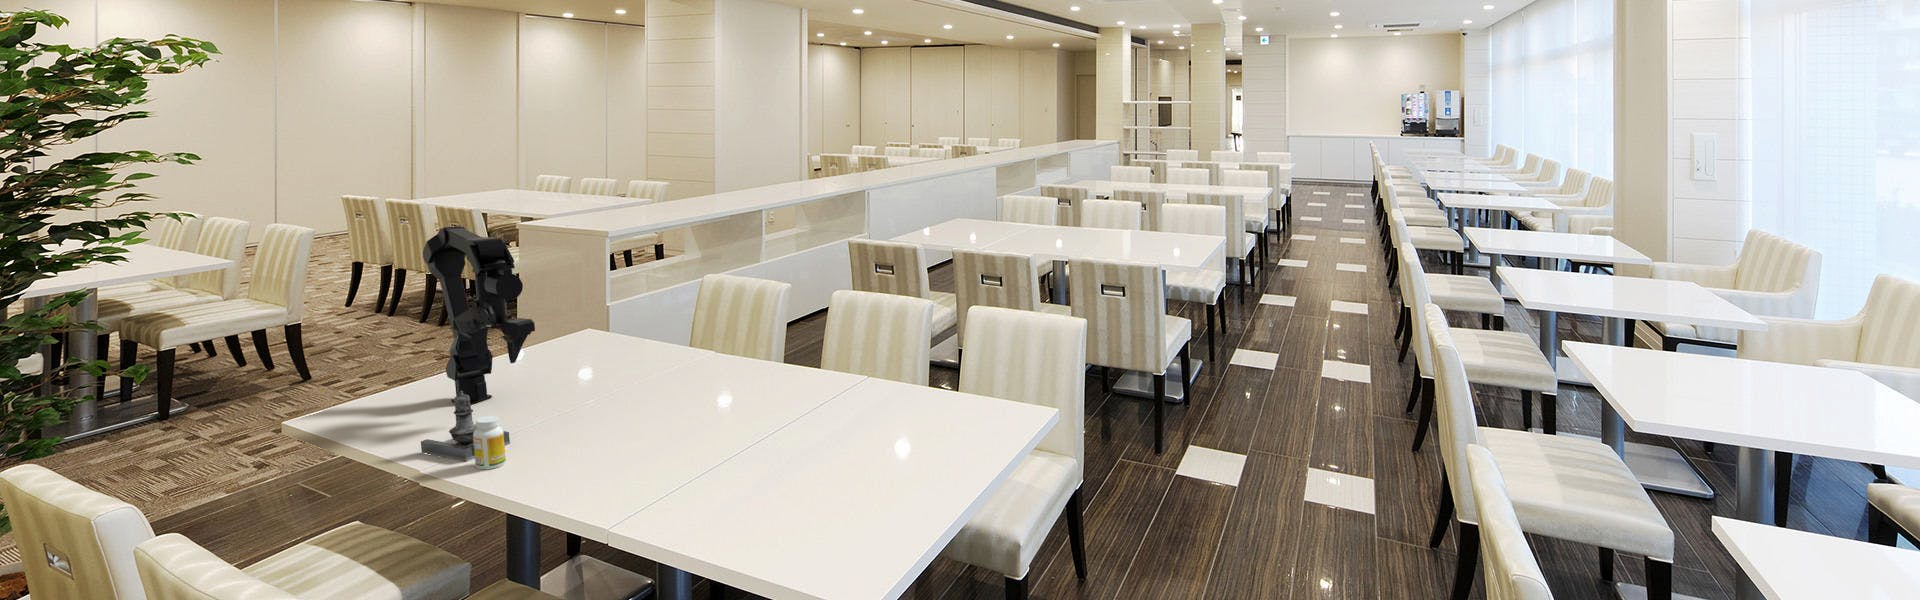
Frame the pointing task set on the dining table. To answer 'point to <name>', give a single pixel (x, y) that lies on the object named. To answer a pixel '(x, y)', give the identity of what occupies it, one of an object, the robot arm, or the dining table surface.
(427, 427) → the dining table surface
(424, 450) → the floor track
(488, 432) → the supplement bottle
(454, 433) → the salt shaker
